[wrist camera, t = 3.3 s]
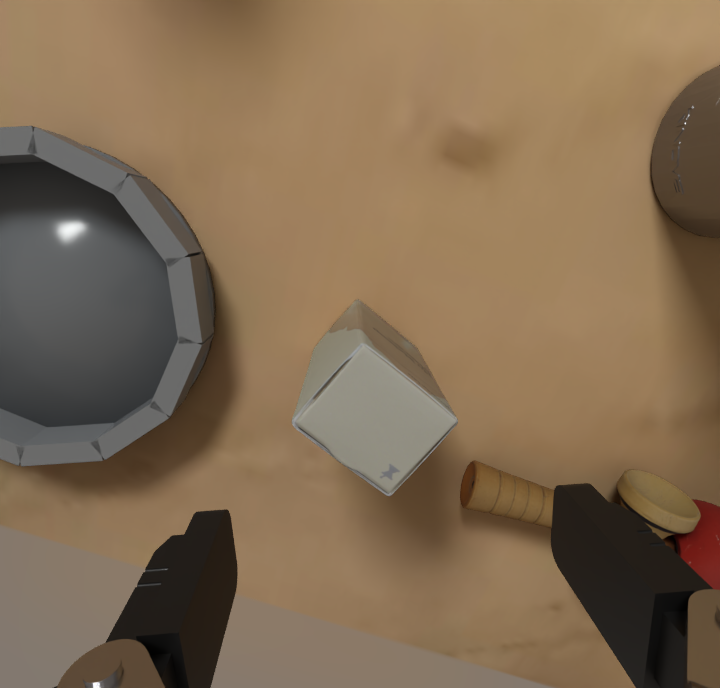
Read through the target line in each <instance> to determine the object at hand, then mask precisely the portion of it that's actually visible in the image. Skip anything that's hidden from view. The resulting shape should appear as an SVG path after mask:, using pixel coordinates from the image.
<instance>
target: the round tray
mask: <svg viewBox="0 0 720 688" xmlns="http://www.w3.org/2000/svg"><path fill="white" fill-rule="evenodd" d="M215 312H216V310H215V295H214V288H213V283H212V278H211V273H210V270H209V267H208V264H207V261H206V258H205V255H204V252H203V250H202V248H201V246H200V244H199V242H198V240H197V237H196V235H195V233H194V232H193V230H192V229H191V227H190V226H189V224H188V222H187V221H186V219H185V218H184V216H183V215H182V214H181V212H180V211H179V210H178V209H177V208H176V206H175V205H174V204H173V203H172V201H171V200H170V199H169V198H168V197H167V196H166V195H165V194H164V193H163V192H162V191H161V190H160V189H159V188H158V187H157V186H156V185H155V184H153V183H152V182H151V181H150V180H149V179H147V177H145V176H143V175H142V174H140V173H139V172H138V171H136V170H135V169H134V168H132V167H130V166H129V165H127V164H125V163H123V162H122V161H120V160H118V159H117V158H115V157H113V156H110V155H108V154H106V153H103V152H101V151H99V150H96V149H94V148H91V147H88V146H84V145H82V144H80V143H78V142H76V141H74V140H72V139H70V138H68V137H66V136H63V135H60V134H57V133H53V132H50V131H47V130H44V129H41V128H37V127H33V126H21V127H2V128H0V459H2V460H5V461H7V462H10V463H12V464H15V465H17V466H19V465H20V464H21V466H34V465H48V464H63V463H77V462H92V461H103V460H104V459H105V460H106V459H107V458H109V457H110V456H112V455H114V454H115V453H117V452H118V451H120V450H121V449H123V448H124V447H126V446H127V445H129V444H130V443H132V442H133V441H135V440H136V439H138V438H139V437H141V436H142V435H144V434H146V433H147V432H149V431H150V430H152V429H153V428H155V427H156V426H158V425H159V424H161V423H162V422H164V421H165V420H167V419H168V418H169V417H170V416H171V415H172V414H173V413H174V412H175V411H176V409H177V408H178V407H179V406H180V405H181V404H182V403H183V401H184V400H185V398H186V396H187V394H188V391H189V389H190V388H191V386H192V385H193V384H194V382H195V381H196V379H197V378H198V376H199V374H200V372H201V370H202V368H203V366H204V364H205V362H206V359H207V356H208V353H209V351H210V348H211V343H212V338H213V334H214V327H215Z"/></svg>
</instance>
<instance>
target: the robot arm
mask: <svg viewBox="0 0 720 688" xmlns="http://www.w3.org/2000/svg"><path fill="white" fill-rule="evenodd" d="M652 179H653V184H654V189H655V193H656V195H657V197H658V199H659V201H660V204H661V206H662V208H663V209H664V210H665V211H666V213H667V214H668V215H669V216H670V218H671V219H672V220H673V221H675V222H676V223H677V224H678V225H680V226H681V227H682V228H684V229H686V230H688V231H690V232H693V233H695V234H697V235H702V236H708V237H714V238H720V65H719V66H717V67H715V68H713V69H711V70H709V71H707V72H705V73H704V74H702V75H701V76H699V77H698V78H697V79H695V80H694V81H693V82H692V83H690V84H689V85H688V86H687V87H686V88H685V89H684V90H683V91H682V92H681V93H680V95H679V96H678V97H677V98H676V99H675V100H674V101H673V103H672V104H671V106H670V108H669V109H668V111H667V113H666V114H665V116H664V118H663V119H662V122H661V124H660V127H659V129H658V132H657V135H656V137H655V142H654V147H653V152H652ZM551 547H552V552H553V556H554V559H555V562H556V564H557V566H558V568H559V570H560V571H561V573H562V574H563V576H564V577H565V579H566V580H567V582H568V583H569V585H570V586H571V588H572V590H573V591H574V593H575V594H576V596H577V597H578V599H579V600H580V602H581V603H582V605H583V606H584V608H585V610H586V611H587V613H588V614H589V616H590V617H591V619H592V620H593V622H594V623H595V625H596V627H597V628H598V630H599V631H600V633H601V634H602V636H603V637H604V639H605V640H606V642H607V643H608V645H609V647H610V648H611V650H612V651H613V653H614V654H615V656H616V657H617V659H618V660H619V662H620V664H621V665H622V667H623V668H624V670H625V671H626V673H627V674H628V676H629V677H630V679H631V680H632V682H633V684H634V685H635V687H636V688H720V590H715V589H713V588H712V587H711V586H710V585H709V584H708V583H707V582H706V581H705V580H704V579H703V578H702V577H701V576H699V575H698V574H697V573H696V572H695V571H694V570H693V569H692V568H691V567H690V566H689V565H688V564H687V563H686V562H685V561H684V560H683V559H682V558H681V557H680V556H679V555H678V554H677V553H676V552H675V551H674V550H673V549H672V548H671V547H670V546H666V544H665V542H664V541H663V540H662V539H661V538H660V537H659V536H658V535H657V534H656V533H653V532H652V529H651V528H650V527H649V526H648V525H647V524H646V523H645V522H644V521H643V520H642V519H641V518H640V517H639V516H637V515H636V514H635V513H633V512H631V511H629V510H627V509H626V508H624V507H622V506H620V505H619V504H617V503H615V502H614V503H609V502H608V501H607V500H606V499H605V498H604V497H603V496H602V495H601V494H600V493H599V492H598V491H597V490H596V489H595V488H594V487H593V486H592V485H591V484H588V483H584V484H571V485H559V486H556V488H555V490H554V496H553V512H552V529H551ZM236 587H237V560H236V552H235V545H234V538H233V530H232V523H231V516H230V513H229V511H228V510H214V511H200V512H196V513H195V514H194V515H193V517H192V520H191V522H190V524H189V526H188V528H187V530H186V532H185V534H184V535H174V536H171V537H170V538H169V539H168V540H167V541H166V542H165V543H163V544H162V545H161V546H160V547H159V548H158V549H157V550H156V551H155V552H154V554H153V556H152V558H151V560H150V561H149V563H148V565H147V567H146V569H145V572H144V573H143V574H142V576H141V578H140V580H139V582H138V585H137V587H136V588H135V589H134V591H133V593H132V595H131V596H130V598H129V600H128V602H127V604H126V606H125V608H124V610H123V611H122V613H121V615H120V617H119V619H118V620H117V622H116V624H115V626H114V628H113V630H112V632H111V633H110V635H109V637H108V639H107V641H106V643H104V644H102V645H100V646H98V647H95V648H94V649H92V650H90V651H89V652H87V653H85V654H84V655H83V656H81V657H80V658H79V659H78V660H77V661H76V662H74V663H73V664H72V665H71V666H70V668H69V669H68V670H67V671H66V673H65V674H64V675H63V677H62V678H61V680H60V682H59V684H58V686H56V687H54V688H210V687H211V683H212V680H213V675H214V672H215V668H216V665H217V661H218V657H219V653H220V649H221V646H222V642H223V638H224V634H225V631H226V627H227V623H228V619H229V615H230V612H231V608H232V604H233V600H234V597H235V592H236Z"/></svg>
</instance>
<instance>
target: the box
mask: <svg viewBox="0 0 720 688" xmlns="http://www.w3.org/2000/svg"><path fill="white" fill-rule="evenodd" d="M457 423H458V419H457V418H456V416H455V414H454V413H453V411H452V409H451V407H450V405H449V404H448V402H447V400H446V399H445V397H444V395H443V393H442V392H441V390H440V388H439V386H438V384H437V382H436V380H435V379H434V377H433V375H432V373H431V371H430V370H429V368H428V366H427V365H426V363H425V361H424V359H423V357H422V355H421V354H420V352H419V350H418V349H417V348H416V347H415V346H414V345H413V344H412V343H411V342H409V341H408V340H407V339H406V338H405V337H404V336H402V335H401V334H400V333H399V332H398V331H396V330H395V329H394V328H393V327H392V326H391V325H389V324H388V323H387V322H386V321H385V320H383V319H382V318H381V317H380V316H378V315H377V314H376V313H375V312H374V311H372V310H371V309H370V308H369V307H367V306H366V305H365V304H364V303H363V302H361V301H360V300H356V301H355V302H354V303H353V304H352V305H351V306H350V307H349V308H348V309H347V310H346V311H345V312H344V314H343V315H342V316H341V317H340V318H339V319H338V320H337V322H336V323H335V324H334V325H333V326H332V327H331V328H330V330H329V331H328V332H327V333H326V334H325V336H324V337H323V338H322V339H321V341H320V342H319V343H318V344H317V345H316V347H315V348H314V350H313V353H312V357H311V360H310V364H309V367H308V371H307V374H306V377H305V380H304V384H303V387H302V390H301V393H300V397H299V400H298V403H297V407H296V410H295V413H294V415H293V418H292V424H293V426H294V427H295V428H296V429H297V430H298V431H299V432H301V433H302V434H303V435H305V436H306V437H307V438H309V439H310V440H311V441H312V442H314V443H315V444H316V445H318V446H319V447H320V448H322V449H323V450H324V451H326V452H327V453H328V454H330V455H331V456H332V457H334V458H335V459H336V460H338V461H339V462H340V463H342V464H343V465H344V466H346V467H347V468H349V469H350V470H351V471H353V472H354V473H356V474H357V475H358V476H360V477H361V478H363V479H364V480H365V481H367V482H368V483H370V484H371V485H372V486H374V487H375V488H377V489H378V490H380V491H381V492H382V493H384V494H385V495H387V496H391V495H392V494H393V493H394V492H395V491H396V490H397V489H398V488H399V487H400V486H401V485H402V484H403V483H404V482H405V481H406V480H407V479H408V478H409V476H410V475H411V474H412V473H413V472H414V471H415V470H416V469H417V468H418V467H419V466H420V465H421V464H422V463H423V462H424V460H425V459H426V458H427V457H428V456H429V455H430V454H431V453H432V452H433V450H434V449H435V448H436V447H437V446H438V445H439V444H440V443H441V442H442V441H443V439H444V438H445V437H446V436H447V435H448V434H449V433H450V431H451V430H452V429H453V428H454V427H455V426H456V425H457Z"/></svg>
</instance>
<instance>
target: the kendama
mask: <svg viewBox="0 0 720 688" xmlns="http://www.w3.org/2000/svg"><path fill="white" fill-rule="evenodd" d="M617 490H618V493H619V496H620V500H621V506H622V507H624V508H626V509H627V510H629V511H631V512H633V513H635V514H636V515H637V516H639V517H640V518H641V519H642V520H643V521H644V522H645V523H646V524H647V525H648V526H649V527H650V528H651V529H652V532H653V533H656V534H657V535H658V536H659V537H660V538H661V539H662V540H663V541H664V542H665V544H666V546H670V547H671V548H672V549H673V550H674V551H675V552H676V553H677V554H678V555H679V556H680V557H681V558H682V559H683V560H684V561H685V562H686V563H687V564H688V565H689V566H690V567H691V568H692V569H693V570H694V571H695V572H696V573H697V574H698V575H699V576H701V577H702V578H703V579H704V580H705V581H706V582H707V583H708V584H709V585H710V586H711V587H712V588H713V589H715V590H720V507H718V506H716V505H714V504H711V503H708V502H704V501H700V500H692V499H691V498H689V497H688V496H687V495H686V494H685V493H684V492H682V491H681V490H680V489H678V488H677V487H675V486H674V485H673V484H671V483H669V482H668V481H666V480H664V479H662V478H660V477H658V476H656V475H653V474H651V473H648V472H645V471H641V470H627V471H625V472H624V474H623V475H622V476H621V478H620V479H619V481H618V482H617ZM553 496H554V490H552V489H549V488H547V487H544V486H539V485H538V484H535V483H533V482H530V481H526V480H524V479H522V478H519V477H516V476H513V475H511V474H508V473H505V472H503V471H499V470H497V469H495V468H492V467H490V466H487V465H485V464H483V463H480V462H477V461H472V462H471V463H470V464H469V465H468V467H467V469H466V471H465V474H464V477H463V480H462V484H461V491H460V500H461V504H462V506H463V508H466V509H471V510H476V511H481V512H489V513H491V514H495V515H500V516H504V517H508V518H512V519H518V520H521V521H525V522H529V523H534V524H537V525H541V526H546V527H550V528H552V512H553Z"/></svg>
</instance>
